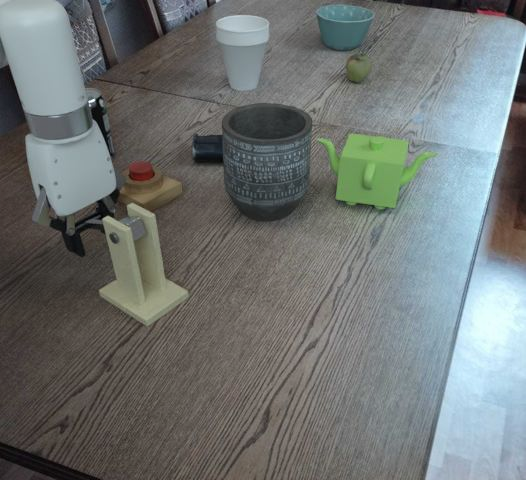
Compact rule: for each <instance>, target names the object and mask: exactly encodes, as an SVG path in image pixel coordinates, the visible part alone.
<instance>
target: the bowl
mask: <svg viewBox="0 0 526 480" xmlns="http://www.w3.org/2000/svg"><path fill="white" fill-rule="evenodd" d="M315 14H316V19H317V24H318V29H319V33H320V37H321V41H322V42H323V44H325V46H326V47H327V48H329V49H331V50H335V51H352V50H355V49H357V48H358V47H360V46H361V45H362V44H363V42H364V40H365V38H366V36H367V34H368V32H369V30H370V27H371V25H372V22H373V21H374V18H375V13H374V11H372V10H370V9H368V8H365V7H362V6H357V5H351V4H330V5H325V6H321V7H319V8H318V9H316V12H315Z"/></svg>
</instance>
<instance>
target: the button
mask: <svg viewBox="0 0 526 480" xmlns="http://www.w3.org/2000/svg"><path fill="white" fill-rule="evenodd" d="M152 165H153V164H152V163H150V162H148V161H137V162H133V163H131V164H130V165H129V167H128V168H129V172H130V178H131V179H132V180H134V181H145V180H149V179H151V178H153V176H154V174H153V168H152Z"/></svg>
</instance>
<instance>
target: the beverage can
mask: <svg viewBox="0 0 526 480" xmlns="http://www.w3.org/2000/svg"><path fill="white" fill-rule="evenodd" d="M85 91H86V95H87V97H90V96H92V97H94V99H95V101H96V107H94V108H92V110H91V113H92V119H93V120H95V121H96V122H97V124H98V126H99V128H100V131H101V133H102V135H103V137H104V140H105V143H106V145H107V148H108V151H109V154H110V157H111V159H113V156H114V155H115V152H116V149H115V143H114V139H113V134H112V130H111V124H110V120H109V114H108V109H107V104H106V100H105V98H104V97H103V95H102V92H101V90H100V89H98V88H96V87H95V88H94V87H85Z"/></svg>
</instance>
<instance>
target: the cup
mask: <svg viewBox="0 0 526 480" xmlns="http://www.w3.org/2000/svg"><path fill="white" fill-rule="evenodd" d="M215 38H216V40H217V42H218V45H219V48H220V53H221V56H222V61H223V64H224V69H225V72H226V76H227V80H228V83H229V88H231V90H235V91H238V92H250V91H252V90H255V89H257V88H258V85H259V81H260V77H261V72H262V68H263V63H264V58H265V54H266V49H267V44H268V41H269V40H270V22H269V20H267V19H266V18H264V17H262V16H258V15H252V14H235V15H228V16H224V17H221V18H219V19H218V20H216V21H215Z"/></svg>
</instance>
